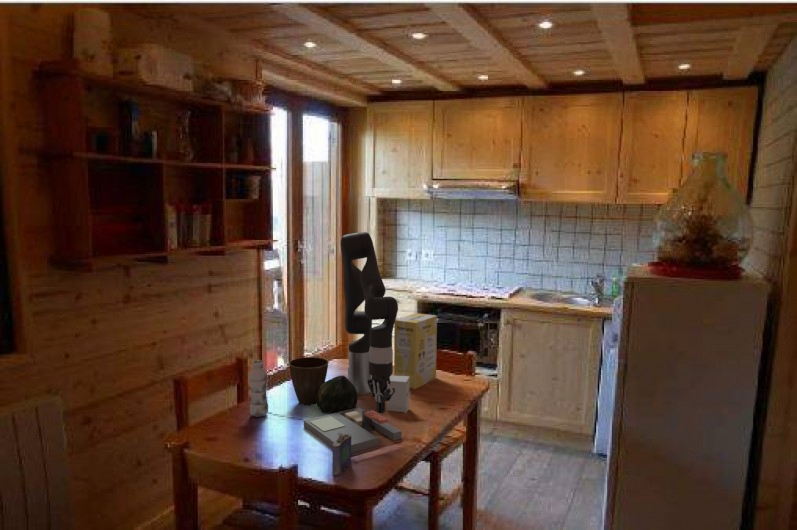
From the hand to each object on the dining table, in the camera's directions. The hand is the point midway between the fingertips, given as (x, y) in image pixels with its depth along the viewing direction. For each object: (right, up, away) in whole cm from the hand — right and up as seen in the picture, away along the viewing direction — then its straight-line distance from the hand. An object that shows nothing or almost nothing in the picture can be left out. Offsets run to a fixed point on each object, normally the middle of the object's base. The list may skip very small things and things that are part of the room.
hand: (380, 412), depth 180 cm
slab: (-9, -8, +13) cm, 18 cm away
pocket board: (-10, -10, +6) cm, 15 cm away
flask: (-11, -12, -16) cm, 23 cm away
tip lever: (-5, -9, +9) cm, 13 cm away
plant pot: (-29, -6, +38) cm, 48 cm away
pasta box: (+13, -4, +65) cm, 67 cm away
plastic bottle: (-45, -8, +24) cm, 52 cm away
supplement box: (+6, -8, +30) cm, 31 cm away
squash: (-17, -8, +28) cm, 34 cm away
